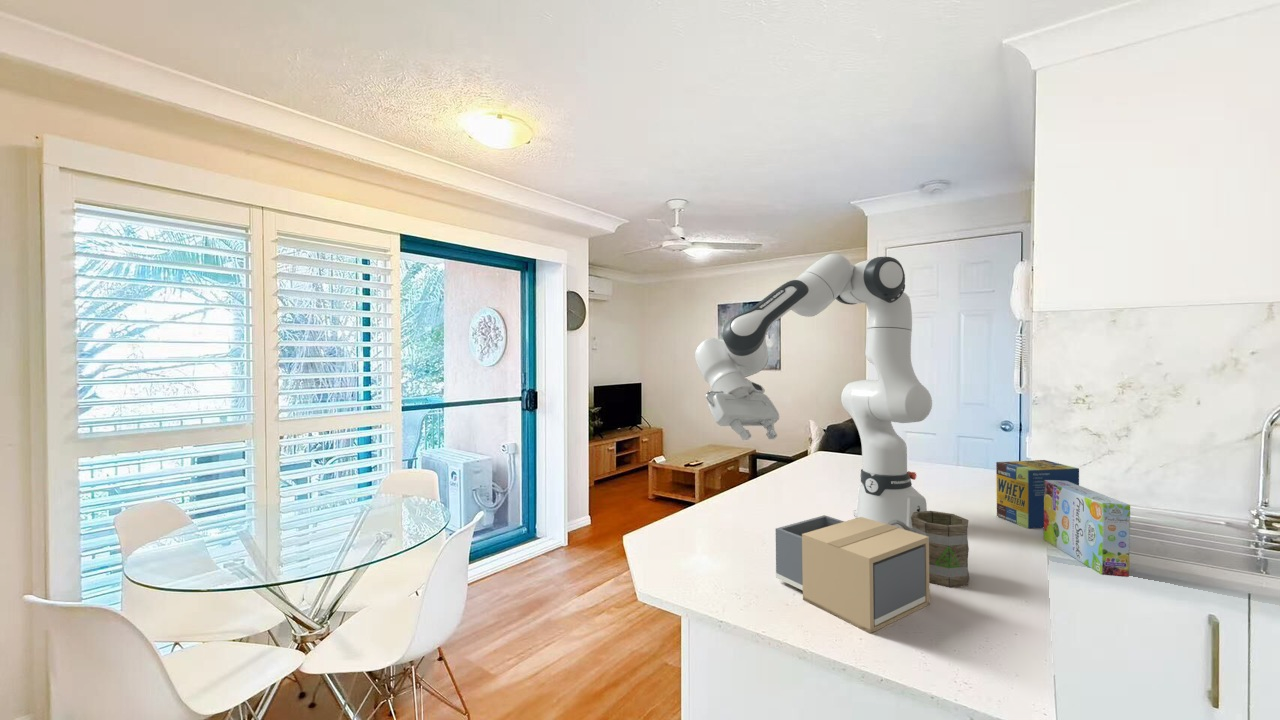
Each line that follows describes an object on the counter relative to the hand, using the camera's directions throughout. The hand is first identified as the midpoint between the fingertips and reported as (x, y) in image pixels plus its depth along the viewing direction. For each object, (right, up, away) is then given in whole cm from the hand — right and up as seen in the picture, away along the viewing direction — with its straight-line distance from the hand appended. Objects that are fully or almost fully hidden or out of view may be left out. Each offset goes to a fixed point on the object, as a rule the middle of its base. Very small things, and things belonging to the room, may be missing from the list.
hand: (761, 438), depth 118 cm
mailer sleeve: (+14, -27, -23) cm, 38 cm away
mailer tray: (+12, -27, -20) cm, 36 cm away
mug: (+32, -27, -12) cm, 44 cm away
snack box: (+72, -26, -4) cm, 76 cm away
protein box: (+80, -26, +20) cm, 87 cm away
